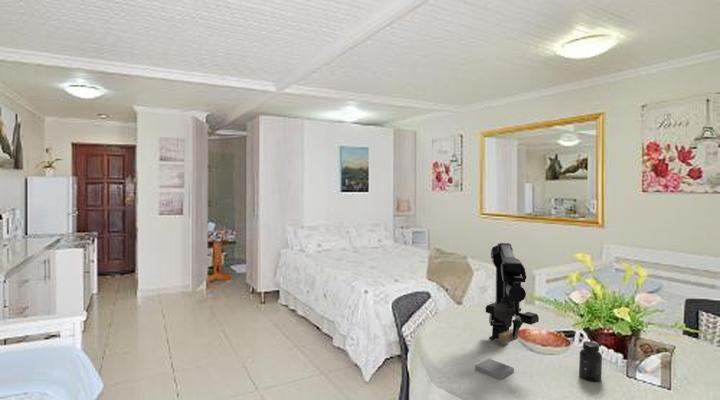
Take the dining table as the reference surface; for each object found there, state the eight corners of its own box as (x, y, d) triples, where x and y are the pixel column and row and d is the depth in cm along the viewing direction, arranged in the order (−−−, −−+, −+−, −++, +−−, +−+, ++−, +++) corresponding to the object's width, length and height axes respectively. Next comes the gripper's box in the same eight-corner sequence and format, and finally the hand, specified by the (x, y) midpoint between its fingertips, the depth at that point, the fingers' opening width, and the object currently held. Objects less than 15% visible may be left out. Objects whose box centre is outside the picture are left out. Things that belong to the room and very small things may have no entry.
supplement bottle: (574, 375, 147) (575, 341, 146) (588, 371, 149) (589, 339, 149) (591, 383, 140) (592, 348, 140) (606, 380, 143) (607, 346, 143)
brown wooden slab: (508, 335, 160) (508, 327, 159) (520, 339, 156) (521, 331, 156) (489, 343, 151) (489, 335, 151) (501, 347, 147) (502, 339, 147)
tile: (489, 358, 156) (475, 365, 150) (513, 367, 148) (500, 375, 143) (489, 364, 156) (475, 371, 150) (513, 373, 148) (500, 381, 143)
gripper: (477, 293, 157) (476, 333, 158) (524, 304, 143) (523, 348, 143) (494, 288, 164) (493, 327, 165) (539, 298, 150) (538, 341, 151)
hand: (510, 335), depth 156 cm, fingers closed on brown wooden slab, 3 cm apart
